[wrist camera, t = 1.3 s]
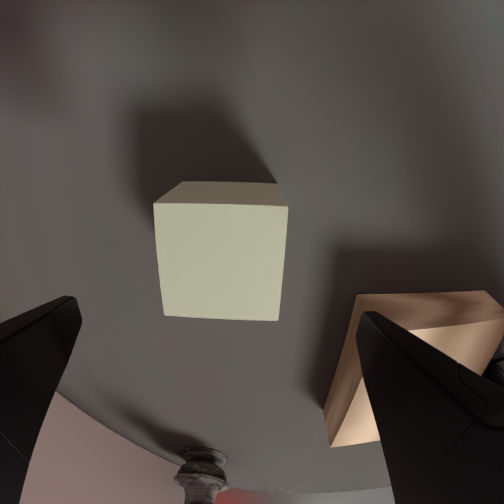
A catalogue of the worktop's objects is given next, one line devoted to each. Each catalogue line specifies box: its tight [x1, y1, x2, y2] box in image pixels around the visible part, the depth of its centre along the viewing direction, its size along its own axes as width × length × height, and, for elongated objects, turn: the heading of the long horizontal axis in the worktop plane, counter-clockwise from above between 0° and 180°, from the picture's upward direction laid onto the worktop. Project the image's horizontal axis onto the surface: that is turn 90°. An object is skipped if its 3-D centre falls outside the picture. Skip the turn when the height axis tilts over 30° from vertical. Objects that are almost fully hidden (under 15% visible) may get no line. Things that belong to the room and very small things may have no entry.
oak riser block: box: [323, 290, 504, 447], centre depth 18 cm, size 12×12×4 cm
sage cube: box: [153, 181, 288, 321], centre depth 14 cm, size 5×5×5 cm
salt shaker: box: [173, 447, 230, 504], centre depth 21 cm, size 6×6×12 cm
